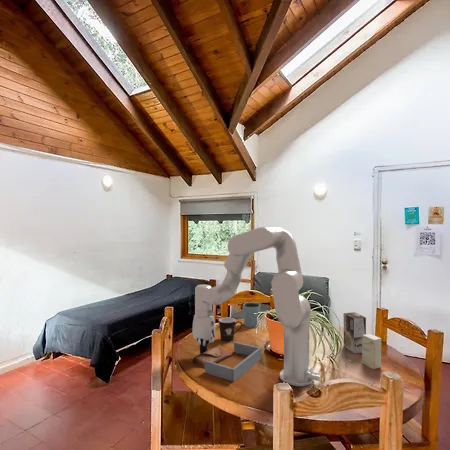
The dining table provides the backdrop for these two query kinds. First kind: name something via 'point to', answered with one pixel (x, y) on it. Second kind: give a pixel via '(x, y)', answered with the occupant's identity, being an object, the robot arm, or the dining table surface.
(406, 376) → the dining table surface
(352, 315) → the coffee box
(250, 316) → the blue-grey cylindrical container
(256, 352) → the bin
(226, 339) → the coffee mug
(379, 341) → the skincare box
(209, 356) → the sunglasses case
